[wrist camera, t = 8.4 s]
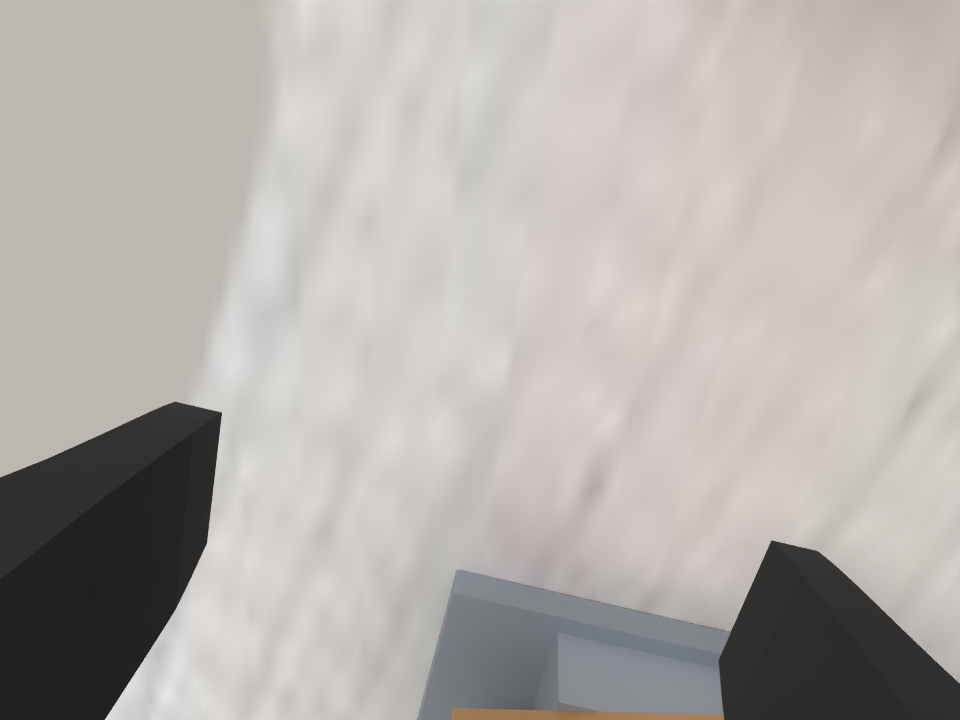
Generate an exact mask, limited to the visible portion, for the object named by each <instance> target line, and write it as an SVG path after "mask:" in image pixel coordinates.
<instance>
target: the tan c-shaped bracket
mask: <svg viewBox="0 0 960 720" xmlns="http://www.w3.org/2000/svg"><path fill="white" fill-rule="evenodd" d="M451 720H724V715H706V714H667V713H628V712H589V711H551V710H512V709H473V708H452V716H451Z"/></svg>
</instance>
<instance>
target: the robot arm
mask: <svg viewBox="0 0 960 720" xmlns="http://www.w3.org/2000/svg"><path fill="white" fill-rule="evenodd" d="M221 416H222V413H221V412H217V411H213V410H208V409H204V408H200V407H195V406H191V405H187V404H182V403H178V402H173V403H170V404H168V405H165V406H163V407H160V408H158V409H156V410H154V411H151V412H149V413H147V414H145V415H142V416H140V417H138V418H136V419H134V420H132V421H130V422H127V423H125V424H123V425H121V426H119V427H117V428H114V429H112V430H110V431H108V432H106V433H104V434H102V435H99V436H97V437H95V438H93V439H90V440H88V441H86V442H84V443H82V444H79V445H77V446H75V447H73V448H71V449H68V450H66V451H64V452H62V453H59V454H57V455H55V456H53V457H51V458H48V459H46V460H43V461H41V462H38V463H36V464H33V465H31V466H28V467H26V468H23V469H21V470H18V471H16V472H13V473H11V474H8V475H6V476H3V477H1V478H0V720H105V719H106V717H107V715H108V714H109V712H110V711H111V709H112V708H113V706H114V705H115V703H116V702H117V700H118V698H119V697H120V695H121V694H122V692H123V691H124V689H125V688H126V686H127V685H128V683H129V682H130V680H131V678H132V677H133V675H134V674H135V672H136V671H137V669H138V668H139V666H140V665H141V663H142V662H143V660H144V658H145V657H146V655H147V654H148V652H149V651H150V649H151V647H152V646H153V644H154V643H155V641H156V640H157V638H158V636H159V635H160V633H161V632H162V630H163V629H164V627H165V626H166V624H167V622H168V621H169V619H170V618H171V616H172V614H173V613H174V611H175V609H176V607H177V605H178V603H179V601H180V599H181V597H182V595H183V593H184V591H185V589H186V587H187V585H188V583H189V581H190V579H191V577H192V574H193V572H194V570H195V568H196V566H197V564H198V561H199V559H200V557H201V555H202V553H203V550H204V548H205V546H206V544H207V537H208V529H209V520H210V511H211V503H212V494H213V485H214V477H215V468H216V460H217V451H218V442H219V434H220V425H221ZM719 672H720V684H721V696H722V706H723V714H724V720H960V684H959V683H958V682H957V681H956V680H955V679H954V678H953V677H952V676H951V675H950V674H949V673H947V672H946V671H945V670H944V669H943V668H942V667H941V666H940V665H939V664H938V663H937V662H936V661H935V660H934V659H933V658H932V657H930V656H929V655H928V654H927V653H926V652H925V651H924V650H923V649H922V648H921V647H920V646H919V645H918V644H917V643H916V642H915V641H914V640H913V639H912V638H911V637H910V636H909V635H908V634H907V633H905V632H904V631H903V630H902V629H901V628H900V627H899V626H898V625H897V624H896V623H895V622H894V621H893V620H892V619H891V618H890V617H889V616H888V615H887V614H886V613H885V612H884V611H883V610H882V609H881V608H880V607H879V606H878V605H877V604H876V603H875V602H874V601H873V600H871V599H870V598H869V597H868V596H867V595H866V594H865V593H864V592H863V591H862V590H861V589H860V588H859V587H858V586H857V585H856V584H855V583H854V582H853V581H852V580H850V579H849V578H848V577H847V576H846V575H845V574H844V573H843V572H842V571H841V570H840V569H838V568H837V567H836V566H835V565H834V564H833V563H832V562H830V561H829V560H828V559H827V558H826V557H824V556H823V555H822V554H821V553H819V552H818V551H815V550H810V549H806V548H802V547H798V546H793V545H789V544H785V543H780V542H776V541H771V543H770V545H769V547H768V550H767V552H766V554H765V556H764V559H763V561H762V563H761V565H760V568H759V570H758V572H757V574H756V577H755V579H754V581H753V583H752V586H751V588H750V590H749V593H748V595H747V597H746V599H745V602H744V604H743V606H742V608H741V611H740V613H739V615H738V617H737V620H736V622H735V624H734V626H733V629H732V631H731V633H730V635H729V638H728V640H727V642H726V644H725V647H724V649H723V651H722V653H721V656H720V658H719Z"/></svg>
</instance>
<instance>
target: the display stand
mask: <svg viewBox="0 0 960 720" xmlns="http://www.w3.org/2000/svg"><path fill="white" fill-rule="evenodd" d="M729 635H730V632H726V631H722V630H717V629H713V628H709V627H704V626H700V625H696V624H691V623H687V622H683V621H678V620H674V619H669V618H665V617H661V616H656V615H652V614H648V613H643V612H639V611H635V610H630V609H626V608H621V607H617V606H613V605H608V604H604V603H600V602H595V601H591V600H587V599H582V598H578V597H574V596H569V595H565V594H560V593H556V592H552V591H547V590H543V589H539V588H534V587H530V586H526V585H521V584H517V583H512V582H508V581H504V580H499V579H495V578H491V577H486V576H482V575H478V574H473V573H469V572H465V571H460V570H457V572H456V576H455V579H454V583H453V587H452V591H451V594H450V598H449V602H448V606H447V609H446V613H445V617H444V621H443V625H442V628H441V632H440V636H439V640H438V643H437V647H436V651H435V655H434V658H433V662H432V666H431V670H430V674H429V677H428V681H427V685H426V689H425V692H424V696H423V700H422V704H421V708H420V711H419V715H418V719H417V720H451V716H452V708H473V709H512V710H551V711H589V712H628V713H667V714H706V715H724V714H723V706H722V696H721V684H720V672H719V658H720V656H721V653H722V651H723V649H724V647H725V644H726V642H727V640H728V638H729Z"/></svg>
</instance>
